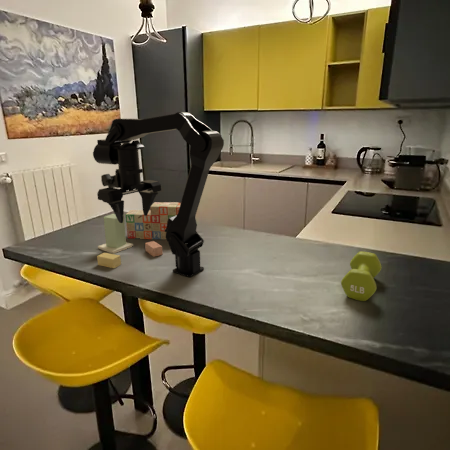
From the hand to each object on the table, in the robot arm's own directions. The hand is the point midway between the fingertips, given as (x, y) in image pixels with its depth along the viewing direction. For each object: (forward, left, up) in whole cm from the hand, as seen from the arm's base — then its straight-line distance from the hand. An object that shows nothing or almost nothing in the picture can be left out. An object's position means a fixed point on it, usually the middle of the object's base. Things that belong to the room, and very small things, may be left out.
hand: (133, 219), depth 99 cm
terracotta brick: (0, -7, -13) cm, 15 cm away
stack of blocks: (+10, -19, -13) cm, 25 cm away
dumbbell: (-61, -21, -13) cm, 65 cm away
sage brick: (+14, -3, -12) cm, 19 cm away
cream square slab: (+14, -3, -14) cm, 20 cm away
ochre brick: (+4, +7, -13) cm, 15 cm away
